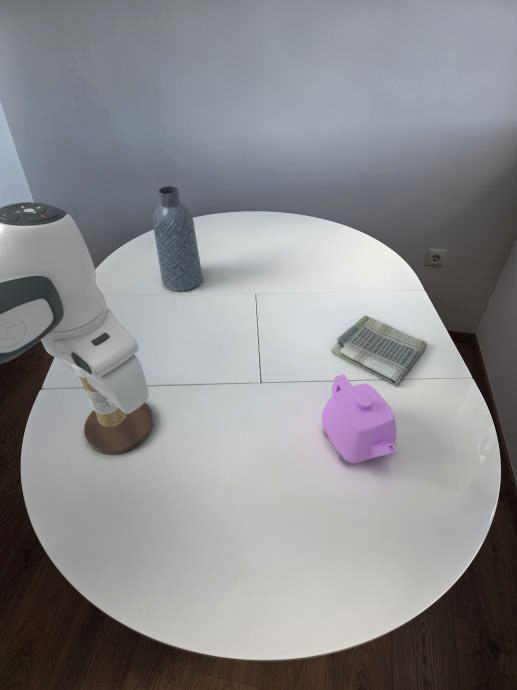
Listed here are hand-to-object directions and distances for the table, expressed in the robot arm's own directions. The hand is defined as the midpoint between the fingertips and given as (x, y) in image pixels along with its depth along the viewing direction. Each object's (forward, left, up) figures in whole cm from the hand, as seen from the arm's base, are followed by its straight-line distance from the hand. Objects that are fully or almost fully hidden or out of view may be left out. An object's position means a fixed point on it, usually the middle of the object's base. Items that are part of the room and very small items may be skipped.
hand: (104, 396), depth 65 cm
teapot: (+34, -27, -26) cm, 51 cm away
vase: (+52, +43, -26) cm, 72 cm away
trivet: (+6, +14, -26) cm, 29 cm away
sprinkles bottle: (0, 0, -5) cm, 5 cm away
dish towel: (+61, -18, -26) cm, 69 cm away
